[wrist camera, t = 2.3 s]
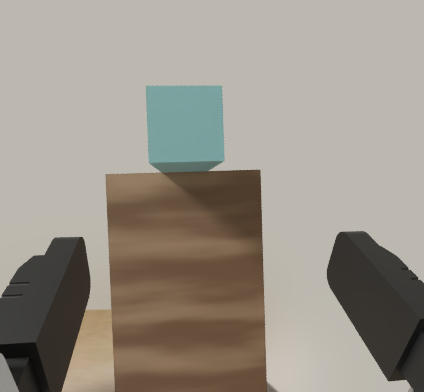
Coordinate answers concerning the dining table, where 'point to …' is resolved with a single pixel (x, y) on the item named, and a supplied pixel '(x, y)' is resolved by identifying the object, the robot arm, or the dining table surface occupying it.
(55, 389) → the robot arm
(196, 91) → the bar
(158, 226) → the stand
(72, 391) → the dining table surface
